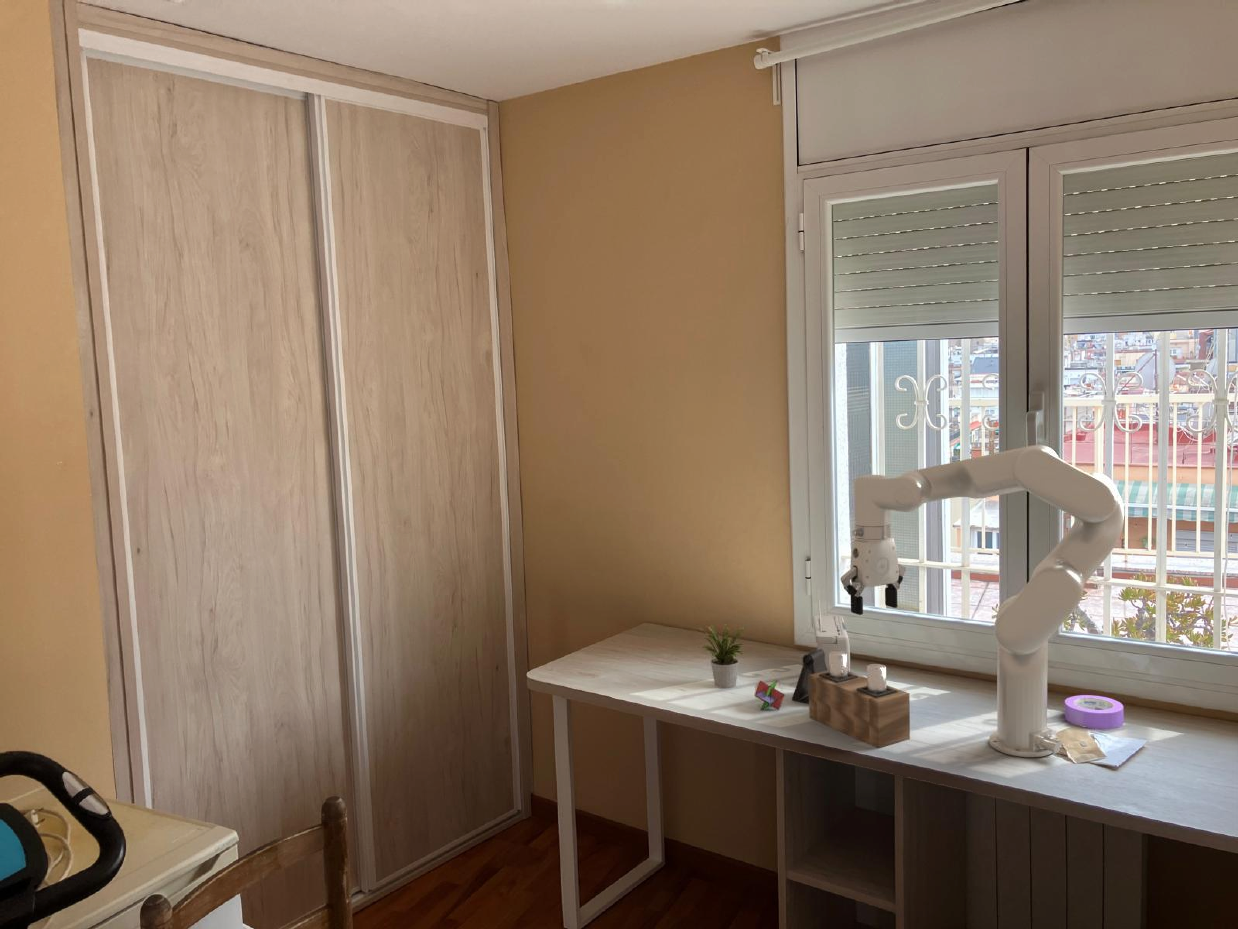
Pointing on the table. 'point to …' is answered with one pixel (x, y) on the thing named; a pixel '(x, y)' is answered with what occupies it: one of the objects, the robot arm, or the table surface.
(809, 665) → the phone stand
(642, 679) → the table surface
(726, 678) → the house plant
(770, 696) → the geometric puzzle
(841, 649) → the stereo radio cassette player
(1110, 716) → the masking tape
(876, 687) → the peg near
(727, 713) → the table surface
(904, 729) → the block
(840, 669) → the peg far
